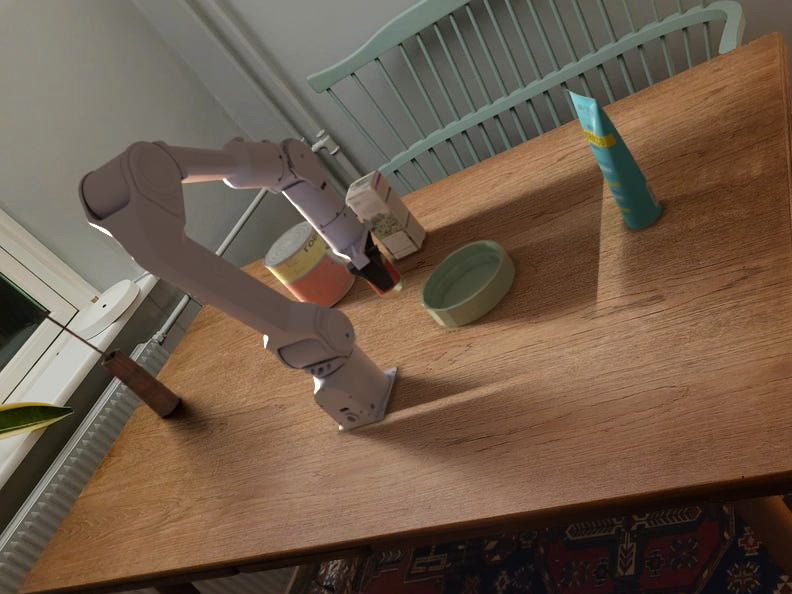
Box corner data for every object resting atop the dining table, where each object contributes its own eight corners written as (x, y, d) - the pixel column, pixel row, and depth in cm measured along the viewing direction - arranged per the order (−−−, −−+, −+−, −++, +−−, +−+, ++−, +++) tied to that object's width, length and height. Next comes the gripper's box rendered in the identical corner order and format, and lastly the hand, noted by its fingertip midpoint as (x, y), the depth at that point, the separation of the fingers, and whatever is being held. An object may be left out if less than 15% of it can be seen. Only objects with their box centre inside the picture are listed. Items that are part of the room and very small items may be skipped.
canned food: (360, 283, 126) (316, 234, 119) (311, 322, 127) (265, 275, 120) (350, 260, 135) (308, 213, 128) (304, 296, 136) (261, 251, 129)
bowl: (511, 312, 95) (496, 292, 93) (427, 341, 102) (412, 322, 100) (522, 247, 104) (508, 227, 102) (445, 277, 111) (430, 259, 109)
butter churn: (200, 382, 137) (76, 282, 120) (174, 422, 132) (40, 323, 115) (174, 387, 142) (52, 292, 125) (148, 426, 137) (17, 332, 120)
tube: (615, 221, 96) (550, 102, 84) (642, 198, 96) (580, 75, 84) (647, 236, 90) (582, 110, 78) (676, 212, 90) (615, 82, 78)
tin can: (401, 293, 108) (377, 266, 104) (378, 303, 110) (354, 276, 106) (407, 274, 111) (385, 246, 107) (384, 283, 113) (361, 256, 109)
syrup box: (427, 231, 125) (377, 166, 116) (422, 251, 121) (370, 186, 112) (401, 243, 127) (351, 181, 119) (396, 263, 123) (343, 200, 115)
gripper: (359, 215, 95) (416, 284, 103) (343, 182, 107) (396, 247, 115) (318, 246, 96) (378, 313, 104) (307, 211, 107) (363, 273, 115)
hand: (386, 280), depth 109 cm, fingers closed on tin can, 4 cm apart
